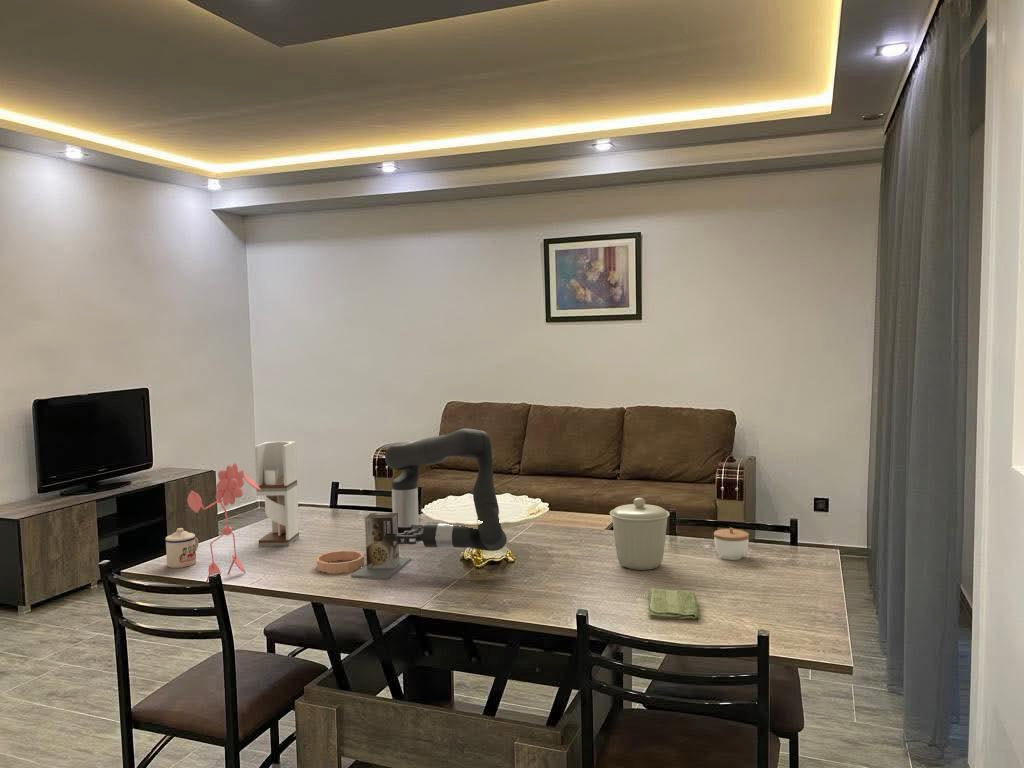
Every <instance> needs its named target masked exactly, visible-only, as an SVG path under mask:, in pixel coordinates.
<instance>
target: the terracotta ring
mask: <svg viewBox="0 0 1024 768" xmlns="http://www.w3.org/2000/svg"><path fill="white" fill-rule="evenodd" d="M315 560H316V562H315V564H316V570H319V571H318V572H320V571H322V572H321V573H323V572H327V573H326V574H342V573H343V572H345V573H351V572H353V571H357V570H359V569H360V568H361V567H363V566H364V565H365V556H364V553H363V552H361V551H357V550H346V549H345V550H343V549H342V550H335V551H329V552H326V553H321V554H320V555H318V556H316V557H315ZM337 560H342V562H341V561H340V562H338V561H337ZM349 560H352V561H349ZM330 561H333V562H330ZM327 562H329V563H327ZM329 572H330V573H329Z"/></svg>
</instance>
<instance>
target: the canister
mask: <svg viewBox="0 0 1024 768" xmlns="http://www.w3.org/2000/svg"><path fill="white" fill-rule="evenodd" d="M609 515H610V517H612V518H611V519H612V528H613V536H614V537H613V538H614V545H615V551H616V556H617V560H618V563H619V564H620V565H621V567H624V568H627V569H630V570H636V571H637V570H638V571H646V570H647V571H649V570H652V569H656V568H659V566H660V565H661V564H662V563H663V559H664V552H665V545H666V534H667V524H668V518H669V516H670V512H669V511H668V510H666V509H665V508H663V507H661V506H659V505H654V504H647V503H646V500H645V499H644V498H643V497H636V498H634V500H633V503H630V504H623V505H619V506H617V507H615V508H614V509H611V510H610V511H609Z"/></svg>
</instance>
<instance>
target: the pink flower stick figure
mask: <svg viewBox="0 0 1024 768" xmlns="http://www.w3.org/2000/svg"><path fill="white" fill-rule="evenodd" d="M217 473H218V474H217V476H218V479H219V481H218V483H216V489H217V490H216V493H215V499H216V500H215V501H214V502H212V503H210V504H209V505H208V506H206V507H204V505H203V503H202V502H203V500H202V498H201V496H200V494H199V493H198V492H196V491H194V490H191V491H190V493H188V496H187V504H188V507H189V508H190V509H191V510H192V511H193V512H194V513H196V514H198V513H199V512H200V509H201V508H202V510H203V511H206V510H207V509H209V508H211V507H213V506H214V505H216V504H217V503H219V504H220V505H221V507H222V509H223V511H224V515H225V520H226V526H224V527H223V528H222V530H221V532H222V534H220V536H218V537H217V538H216V539H214V540H213V541H211V542H210V543H209V545H210V553H211V563H210V564H209V565H208V575H207V578H206V581H205V583H206V584H208V582H209V580H208V578H209V576H210V575H212V574H214V573H219V574H220V575H221V576H222V572H221V569H220V567H219V566H218V565H217V563H215V562H214V554H213V545H212V544H214V542H216V541H217V540H219V539H220V538H222V537H223V536H229V535H232V538H233V539H232V540H233V549H234V550H233V551H234V554H232V555H231V557H232V561H231V564H230V567H229V568H228V572H227V574H228V575H229V574H230V573H231V571H232V568H233V565H234V564H235V565H236V566H237V568H238V569H240V571H241V572H243V573H244V574H246V573H247V572H246V570H245V567H244V565H243V563H242V562H241V560H240V559H239V558H238V557H237V553H236V552H237V551H236V541H235V539H236V538H235V534H234V532H233V529H232V527H231V526H229V518H228V512H227V509H226V508H225V507H227V506H229V504H230V505H234V504H235V503H236V499H237V498H242V497H243V495H244V492H243V490H242V487H243V486H244V485H245V481H246V483H248V484H249V485H250V486H251V487H253V488H254V489H255V490H257V489H258V490H260V491H261V489H260V488H259V486H258V485H257V484H256V482H255V481H254V480H253V479H252V478H251V477H249V476H248V475H246V474H245V472H244V470H243V469H241V470H239V467H238V464H237V463H236V462H235V463H233V465H230V464H229V465H227V466H226V469H225V470H224V469H222V470H219V471H218V472H217ZM209 579H210V578H209ZM242 587H243V585H241V586H240V588H242Z"/></svg>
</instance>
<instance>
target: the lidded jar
mask: <svg viewBox="0 0 1024 768" xmlns="http://www.w3.org/2000/svg"><path fill="white" fill-rule="evenodd" d="M749 536H750V534H749V533H748V531H744V530H742V529H735V528H733V527H729V528H724V529H723V528H722V529H717V530H714V532H713V540H714V541H713V542H714V547H715V550H716V551H717V553H718V555H720V556H721V558H722V559H724V560H729V561H738V560H741V559H742V557H743V556H745V555H746V553H747V551H748V548H749V543H750V542H749V541H750V540H749V538H750V537H749Z"/></svg>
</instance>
